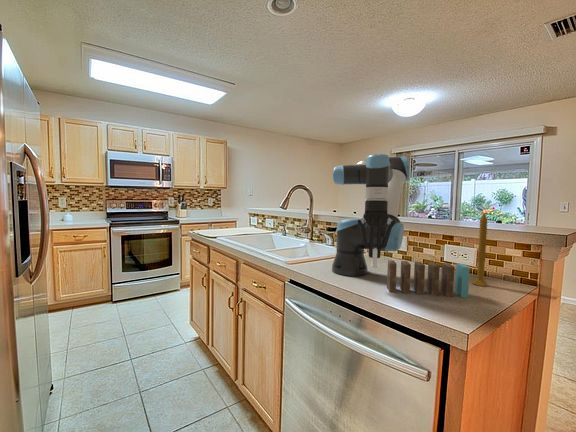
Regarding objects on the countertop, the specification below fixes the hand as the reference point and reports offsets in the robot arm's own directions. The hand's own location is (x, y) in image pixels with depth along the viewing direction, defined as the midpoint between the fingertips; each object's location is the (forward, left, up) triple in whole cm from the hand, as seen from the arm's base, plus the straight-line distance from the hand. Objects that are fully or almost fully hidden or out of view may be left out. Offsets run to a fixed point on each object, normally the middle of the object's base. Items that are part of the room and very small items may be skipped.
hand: (374, 266), depth 100 cm
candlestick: (+41, +14, -8) cm, 44 cm away
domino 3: (+15, 0, -8) cm, 17 cm away
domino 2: (+11, 0, -8) cm, 13 cm away
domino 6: (+29, 0, -8) cm, 30 cm away
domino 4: (+20, 0, -8) cm, 21 cm away
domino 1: (+6, 0, -8) cm, 10 cm away
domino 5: (+24, 0, -8) cm, 25 cm away
